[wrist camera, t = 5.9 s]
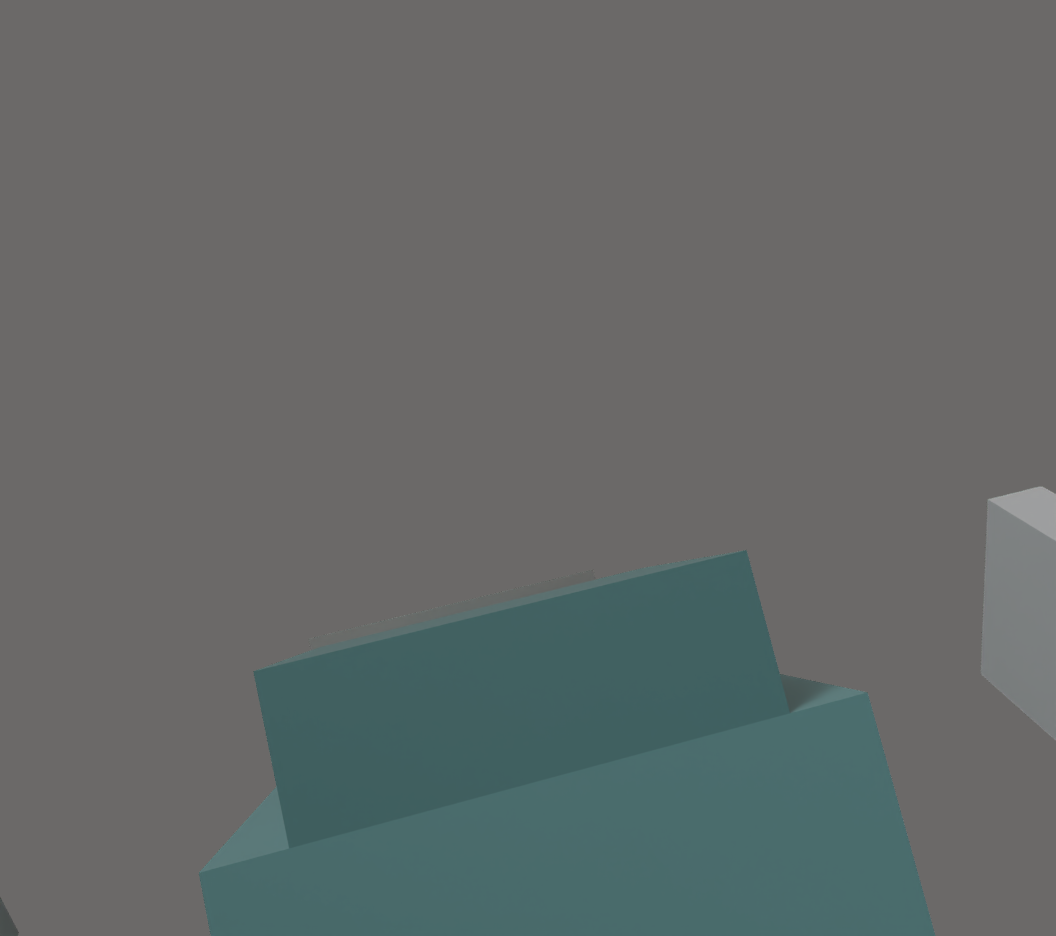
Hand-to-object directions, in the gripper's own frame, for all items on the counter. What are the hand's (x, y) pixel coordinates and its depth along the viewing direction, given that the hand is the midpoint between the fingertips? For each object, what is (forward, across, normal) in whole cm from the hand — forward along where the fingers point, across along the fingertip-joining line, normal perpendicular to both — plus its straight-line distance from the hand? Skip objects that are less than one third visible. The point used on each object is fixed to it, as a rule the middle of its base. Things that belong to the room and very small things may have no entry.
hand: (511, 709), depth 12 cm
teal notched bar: (+4, 0, -6) cm, 7 cm away
